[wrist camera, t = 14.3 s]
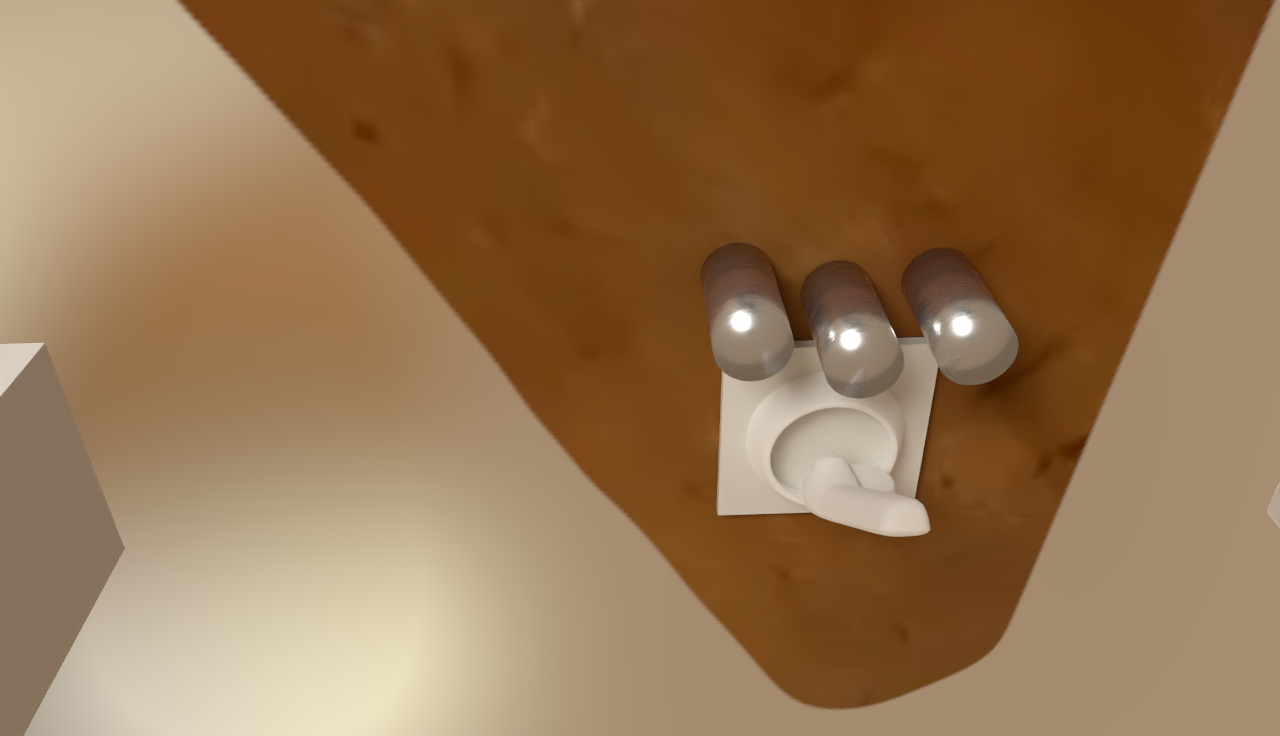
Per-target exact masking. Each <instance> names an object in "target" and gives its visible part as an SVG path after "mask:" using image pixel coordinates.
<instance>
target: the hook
mask: <svg viewBox="0 0 1280 736" xmlns="http://www.w3.org/2000/svg"><path fill="white" fill-rule="evenodd" d="M835 407H842V408H851V409H855V410H858V411H862V412H864V413H866V414H868V415H870V416H872V417H873V418H874V419H875V420H877V421H878V422H879V423H880V424H881V425H882V427H883V428H884V429H885V431H886V433H887V436H888V438H889V443H890V447H889V451H888V454H887V455H886V457H885V459H884V460H883V462H882V463H881V464H880V465H879V466H878V467H874V466H869V465H850V464H848V461H847V459H846V458H844V457H840V456H839V455H838V454H836V453H832V452H826V453H821V454H820V455H818V456H817V457H816V458H815V460H814V461H813V463H812V465H811V469H810V471H809V473H808V474H807V476H806V478H805V480H804V482H803V485H802V490H799V489H795V488H791V487H789V486H787V485H785V484H783V483H781V482H780V481H778V479H777V478H776V477H775V476H774V474H773V471H772V467H771V453H772V450H773V446H774V444H775V442H776V440H777V438H778V436H779V435H780V434H781V433H782V432H783V430H784V429H785V428H786V427H787V426H789V425H790V424H791V423H792V422H793V421H795V420H797V419H798V418H800V417H802V416H803V415H806V414H808V413H811V412H813V411H816V410H821V409H825V408H835ZM903 435H904V419H903V413H902V411H901V408H900V406H899V404H898V402H897V400H896V399H895V398H894V396H893V395H892V394H891V393H890V391H889V390H886V391H884V392H882V393H881V394H878V395H876V396H873V397H869V398H861V399H858V398H849V397H845V396H843V395H841V394H839V393H837V392H836V391H834V390H833V389H832V388H831V387H830V385H829V384H828V382H827V380H826V377H825V374H824V371H820V372H815V373H811V374H806V375H803V376H800V377H798V378H795V379H793V380H790V381H788V382H787V383H785V384H783V385H782V386H780V387H778V388H777V389H775V390H774V391H773V392H772V393H771V394H769V395H768V396H767V397H766V398H765V399H764V400H763V401H762V402H761V404H760V405H759V406H758V407H757V409H756V410H755V412H754V414H753V416H752V418H751V420H750V422H749V425H748V429H747V433H746V451H747V455H748V459H749V461H750V463H751V465H752V467H753V469H754V471H755V472H756V473H757V474H758V476H759V477H760V478H761V479H762V480H763V481H764V482H765V483H766V484H767V485H768V486H769V487H770V488H771V489H772V490H774V491H775V492H777V493H778V494H779V495H781V496H783V497H784V498H786V499H788V500H790V501H792V502H795V503H797V504H801V505H805V506H806V507H807V509H808V510H809V511H811V512H812V513H813V514H815V515H817V516H819V517H821V518H824V519H826V520H829V521H832V522H836V523H840V524H843V525H847V526H850V527H854V528H858V529H861V530H865V531H868V532H872V533H875V534H880V535H885V536H892V537H906V536H919V535H923V534H926V533H928V532H929V531H930V523H929V518H928V514H927V512H926V509H925V507H924V505H923V504H922V503H920V502H919V501H918V500H917V499H913V498H910V497H907V496H903V495H899V494H896V488H895V484H894V481H893V479H892V477H891V476H890V475H889V474H890V472H891V471H892V469H893V467H894V466H895V464H896V462H897V459H898V456H899V454H900V451H901V447H902V444H903Z"/></svg>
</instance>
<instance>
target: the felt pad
mask: <svg viewBox="0 0 1280 736" xmlns="http://www.w3.org/2000/svg"><path fill="white" fill-rule="evenodd" d="M897 340H898V342H899V344H900V346H901V349H902V351H903V354H904V367H903V371H902V373H901V375H900V377H899V378H898V380H897V381H896V382H895V383H894V384H893V385H892V386H891V387H890V388H889V389H887V390H889V391H890V393H891V394H892V395H893V396H894V398H895V399H896V400H897V402H898V404H899V406H900V408H901V411H902V413H903V419H904V435H903V444H902V447H901V451H900V454H899V456H898V459H897V462H896V464H895V466H894V467H893V469H892V471H891V472H890V474H889V475H890V476H891V477H892V479H893V481H894V484H895V488H896V494H899V495H903V496H907V497H910V498H913V499H915V495H916V490H917V484H918V478H919V473H920V467H921V461H922V456H923V450H924V444H925V439H926V433H927V427H928V421H929V416H930V410H931V404H932V399H933V393H934V387H935V382H936V376H937V370H938V364H937V362H936V360H935V358H934V356H933V354H932V352H931V350H930V348H929V346H928V344H927V342H926V340H925V337H913V338H897ZM820 371H823V368H822V365H821V362H820V359H819V356H818V352H817V349H816V346H815V343H814V340H806V341H794V350H793V354H792V357H791V359H790V361H789V362H788V364H787V365H786V366H785V367H784V368H783V369H782V370H781V371H780V372H778V373H777V374H775V375H774V376H772V377H770V378H767V379H764V380H760V381H741V380H737V379H734V378H732V377H730V376H728V375H727V374H725V373H724V372H723V371H722V382H721V408H720V434H719V460H718V486H717V513H718V515H745V514H776V513H808V512H811V511H809V510H808V509H807V507H806V506H805V505H801V504H797V503H795V502H792V501H790V500H788V499H786V498H784V497H783V496H781V495H779V494H778V493H777V492H775V491H774V490H772V489H771V488H770V487H769V486H768V485H767V484H766V483H765V482H764V481H763V480H762V479H761V478H760V477H759V476H758V474H757V473H756V472H755V471H754V469H753V467H752V465H751V463H750V461H749V459H748V455H747V451H746V433H747V429H748V425H749V422H750V420H751V418H752V416H753V414H754V412H755V410H756V409H757V407H758V406H759V405H760V404H761V402H762V401H763V400H764V399H765V398H766V397H767V396H768V395H769V394H771V393H772V392H773V391H774V390H775V389H777V388H778V387H780V386H782V385H783V384H785V383H787V382H788V381H790V380H793V379H795V378H798V377H800V376H803V375H806V374H811V373H815V372H820ZM889 447H890V443H889V438H888V436H887V433H886V431H885V429H884V428H883V427H882V425H881V424H880V423H879V422H878V421H877V420H875V419H874V418H873V417H872V416H870V415H868V414H866V413H864V412H862V411H858V410H855V409H851V408H842V407H835V408H825V409H821V410H816V411H813V412H811V413H808V414H806V415H803V416H802V417H800V418H798V419H797V420H795V421H793V422H792V423H791V424H790V425H789V426H787V427H786V428H785V429H784V430H783V432H782V433H781V434H780V435H779V436H778V438H777V440H776V442H775V444H774V446H773V450H772V453H771V467H772V471H773V474H774V476H775V477H776V478H777V479H778V481H780V482H781V483H783V484H785V485H787V486H789V487H791V488H795V489H799V490H802V485H803V482H804V480H805V478H806V476H807V474H808V473H809V471H810V469H811V465H812V463H813V461H814V460H815V458H816V457H817V456H818V455H820V454H821V453H826V452H832V453H836V454H838V455H839V456H840V457H844V458H846V459H847V461H848V464H850V465H869V466H874V467H878V466H879V465H880V464H881V463H882V462H883V460H884V459H885V457H886V455H887V454H888V451H889Z"/></svg>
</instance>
